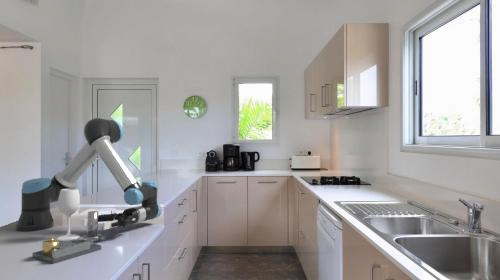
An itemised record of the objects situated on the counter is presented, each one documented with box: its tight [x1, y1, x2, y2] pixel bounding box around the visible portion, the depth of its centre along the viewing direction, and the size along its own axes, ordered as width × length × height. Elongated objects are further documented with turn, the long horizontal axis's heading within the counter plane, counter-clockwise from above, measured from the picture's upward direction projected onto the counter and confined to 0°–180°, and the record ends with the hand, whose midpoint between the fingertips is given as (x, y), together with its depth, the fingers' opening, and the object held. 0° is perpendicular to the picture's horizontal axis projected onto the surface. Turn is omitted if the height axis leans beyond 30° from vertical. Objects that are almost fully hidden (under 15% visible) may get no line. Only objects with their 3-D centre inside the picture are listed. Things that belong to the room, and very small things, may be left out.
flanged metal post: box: [82, 210, 102, 244], centre depth 134 cm, size 7×7×12 cm
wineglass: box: [56, 188, 81, 242], centre depth 137 cm, size 9×9×21 cm
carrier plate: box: [31, 237, 102, 265], centre depth 118 cm, size 14×18×6 cm
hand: (93, 224), depth 133 cm, fingers open, 13 cm apart
